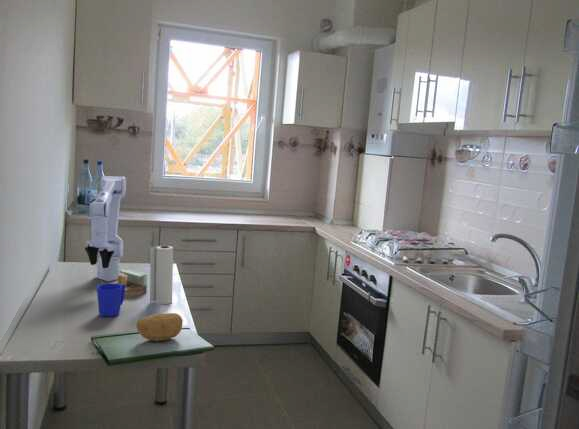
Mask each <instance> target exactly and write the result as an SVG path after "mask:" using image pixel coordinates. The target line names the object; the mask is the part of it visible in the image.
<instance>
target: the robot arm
mask: <svg viewBox="0 0 579 429" xmlns="http://www.w3.org/2000/svg"><path fill="white" fill-rule="evenodd" d="M99 183H100V188H101V191H100V192H98V194H97V195H96V197H95V199H94V201H92V202H90V204H89V208H88V210H89V216H90V217H89V218H90V221H91V240H86V241H85V243H86V244H85V245H86V246H87V247H86V246H85V247H84V250H85V252H86V253H87V256H88V259H89V262H90V265H91V266H94V265H96V275H95V276H94V278H96V279H99V280H102V281H105V282H113V281H116V280H117V281H118V275H120V272H119V270H120V258H122V257H123V256H124V241H123V239H122V238H121V237H120V236H119V235H118V228H119V218H120V206H121V200H122V199H123V198H125V196H126V193H127V178H126V177H125V176H112V175H111V176H110V175H109V176H108V175H107V176H106V175H102V176H101V178H100V182H99Z"/></svg>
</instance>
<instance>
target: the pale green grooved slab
mask: <svg viewBox="0 0 579 429" xmlns="http://www.w3.org/2000/svg"><path fill="white" fill-rule="evenodd" d="M120 273H121V274H123V275H127V281H129V282H132V283H135V284H139V285H142V286H144V290H145V289H146V288H147V287H148V286H145V285H148V283H147V280H148V278H147V277H148V275H147V273H144V272H141V271H137V270H134V269H133V270H132V269H128V268H124V269H119V274H120ZM145 292H146V290H145Z"/></svg>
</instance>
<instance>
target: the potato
mask: <svg viewBox="0 0 579 429" xmlns="http://www.w3.org/2000/svg"><path fill="white" fill-rule="evenodd" d="M183 321H184V320H183V318H182V316H181V315H180V314H178V313H176V312H175V313H174V312H171V313H170V312H169V313H156V314H152V315H146V316H144V317H141V318H140V319H138V321H136V325H135V327H136V330H137V332H138V334H140V335H141V337H143V338H144V339H146V340H148V341H151V340H153V341H152V342H161V341H160V340H163V341H167V340H170V339H173V338H175V337H177V336H178V335H180V333H181V331H182V328H183ZM157 340H159V341H157Z"/></svg>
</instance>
